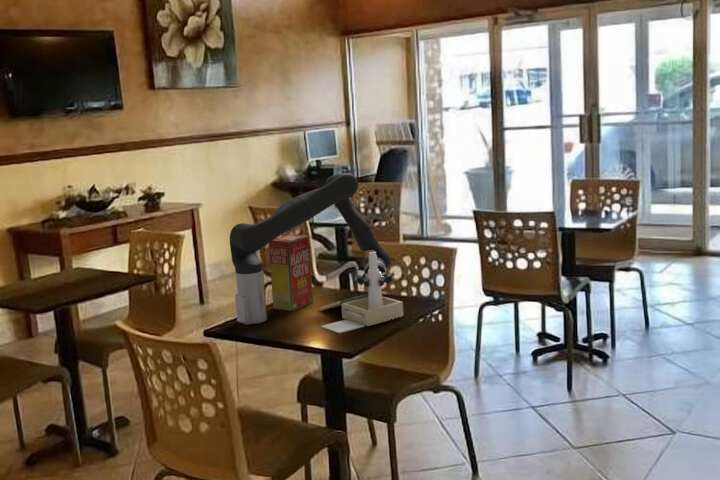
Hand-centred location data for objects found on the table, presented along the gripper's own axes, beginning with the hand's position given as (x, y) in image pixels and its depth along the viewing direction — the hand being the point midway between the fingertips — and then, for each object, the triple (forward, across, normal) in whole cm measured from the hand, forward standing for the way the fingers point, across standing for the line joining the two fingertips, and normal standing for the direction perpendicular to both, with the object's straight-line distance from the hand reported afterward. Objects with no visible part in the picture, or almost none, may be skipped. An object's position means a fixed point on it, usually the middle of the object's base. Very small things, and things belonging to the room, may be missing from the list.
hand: (373, 283), depth 255 cm
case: (-2, -1, +12) cm, 12 cm away
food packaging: (-22, -30, +12) cm, 39 cm away
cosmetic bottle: (-3, 0, +12) cm, 13 cm away
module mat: (+7, -10, +12) cm, 18 cm away
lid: (-14, -10, +9) cm, 19 cm away
